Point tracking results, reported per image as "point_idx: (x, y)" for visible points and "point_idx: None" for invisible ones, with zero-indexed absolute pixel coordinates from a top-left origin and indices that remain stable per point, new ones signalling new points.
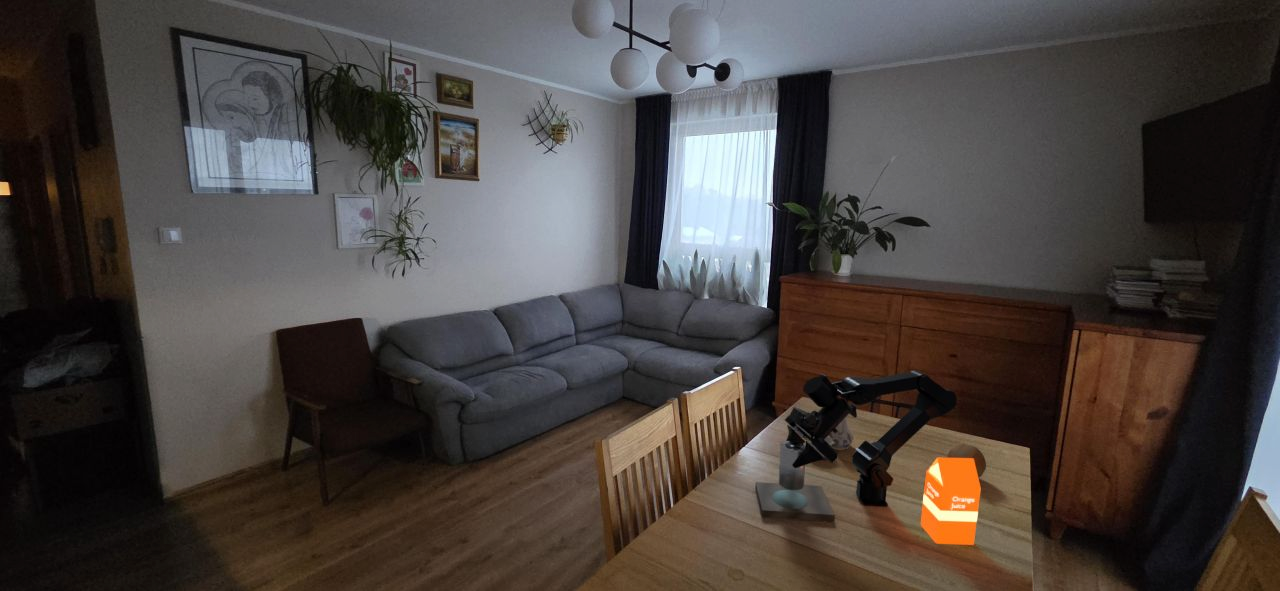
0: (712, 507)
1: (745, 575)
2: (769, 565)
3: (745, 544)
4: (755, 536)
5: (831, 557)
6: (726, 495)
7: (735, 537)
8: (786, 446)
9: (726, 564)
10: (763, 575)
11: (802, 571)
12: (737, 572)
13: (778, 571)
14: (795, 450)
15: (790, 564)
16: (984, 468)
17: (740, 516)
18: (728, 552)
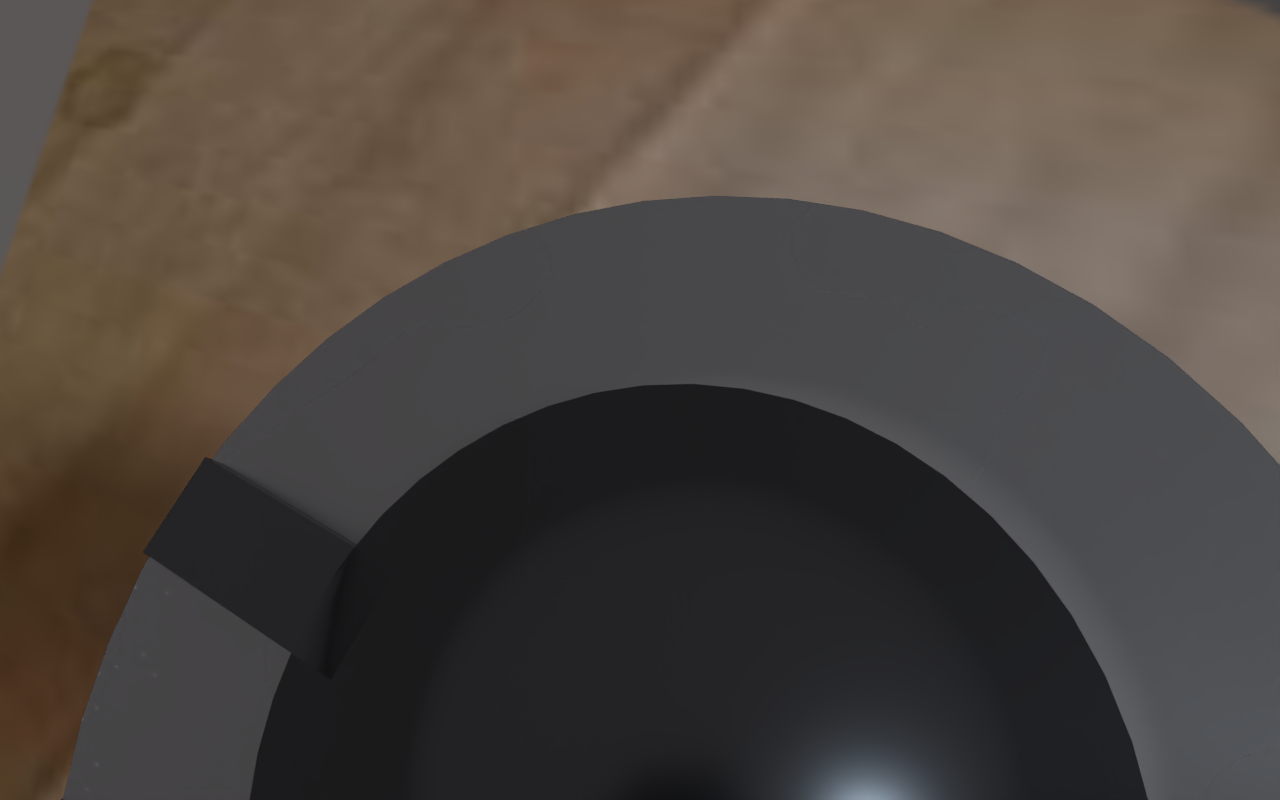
0: (791, 4)
1: (80, 133)
2: (109, 280)
3: (322, 175)
4: (390, 256)
5: (49, 761)
6: (998, 124)
7: (403, 124)
8: (612, 411)
9: (184, 48)
10: (50, 227)
11: (3, 471)
12: (113, 96)
13: (50, 320)
14: (222, 728)
15: (79, 415)
16: None
17: (650, 193)
18: (274, 68)
